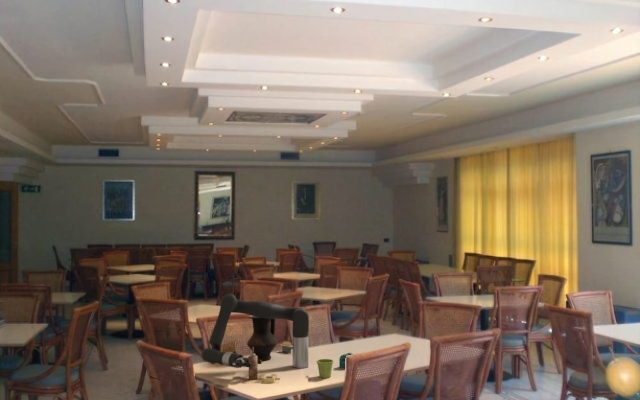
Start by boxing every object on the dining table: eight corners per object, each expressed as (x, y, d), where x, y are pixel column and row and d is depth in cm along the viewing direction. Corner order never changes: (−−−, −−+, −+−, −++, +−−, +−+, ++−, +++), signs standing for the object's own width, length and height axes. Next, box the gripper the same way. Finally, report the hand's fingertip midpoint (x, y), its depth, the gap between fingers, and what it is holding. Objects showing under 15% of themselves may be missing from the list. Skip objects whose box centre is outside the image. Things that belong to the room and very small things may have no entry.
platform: (284, 349, 420) (284, 339, 420) (304, 353, 408) (304, 343, 408) (271, 352, 411) (271, 341, 412) (290, 356, 399) (290, 345, 399)
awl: (257, 377, 341) (257, 346, 342) (257, 380, 337) (257, 348, 337) (249, 377, 341) (249, 346, 342) (248, 380, 337) (248, 348, 337)
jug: (265, 364, 378) (265, 312, 378) (240, 360, 387) (240, 310, 388) (285, 357, 395) (285, 308, 396) (261, 353, 405) (261, 306, 406)
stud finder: (274, 379, 338) (274, 375, 338) (274, 382, 332) (274, 378, 332) (265, 379, 338) (265, 375, 338) (264, 382, 332) (264, 378, 332)
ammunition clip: (221, 362, 382) (221, 342, 382) (219, 362, 383) (219, 341, 383) (236, 359, 389) (236, 339, 389) (234, 359, 390) (234, 339, 391)
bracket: (339, 367, 369) (339, 354, 369) (345, 365, 374) (345, 352, 375) (366, 372, 358) (366, 358, 359) (372, 369, 364) (372, 355, 364)
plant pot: (319, 379, 342) (319, 363, 342) (314, 375, 351) (314, 359, 352) (335, 378, 345) (335, 362, 345) (330, 374, 354) (330, 358, 354)
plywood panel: (280, 376, 349) (280, 374, 349) (278, 385, 331) (278, 383, 331) (244, 376, 349) (244, 374, 349) (240, 385, 331) (240, 383, 331)
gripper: (223, 355, 341) (247, 359, 332) (241, 350, 353) (264, 354, 344) (223, 369, 341) (247, 373, 332) (241, 364, 353) (264, 368, 344)
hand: (255, 363), depth 338 cm, fingers open, 8 cm apart
